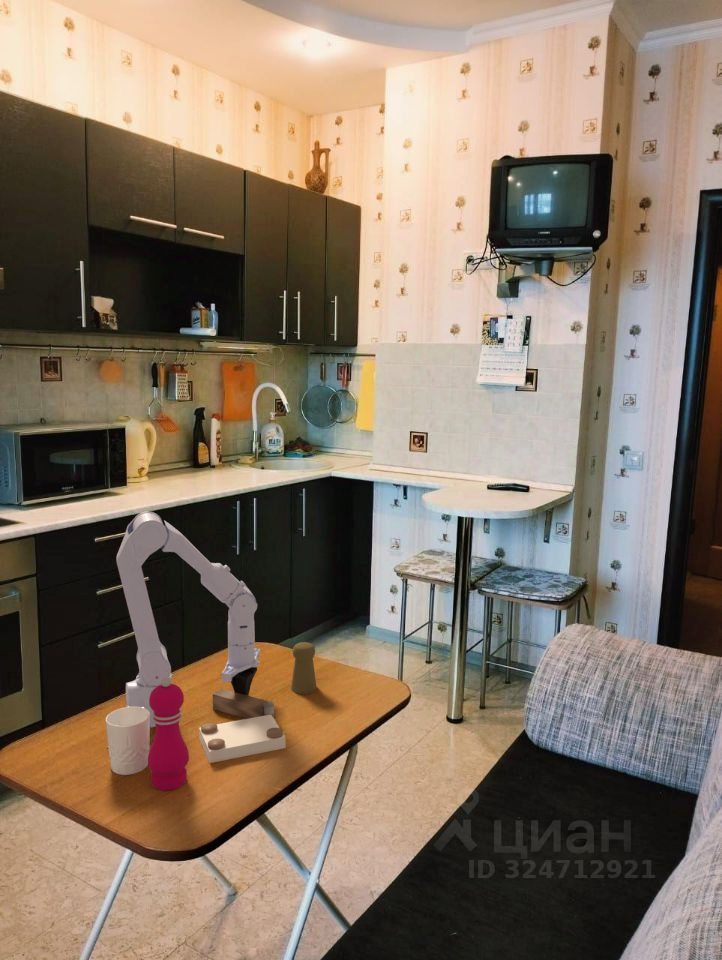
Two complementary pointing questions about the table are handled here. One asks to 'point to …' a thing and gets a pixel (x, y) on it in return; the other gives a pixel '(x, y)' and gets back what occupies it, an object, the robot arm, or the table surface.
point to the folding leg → (241, 704)
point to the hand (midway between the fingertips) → (242, 699)
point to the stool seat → (241, 738)
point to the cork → (303, 669)
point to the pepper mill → (167, 738)
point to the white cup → (128, 739)
